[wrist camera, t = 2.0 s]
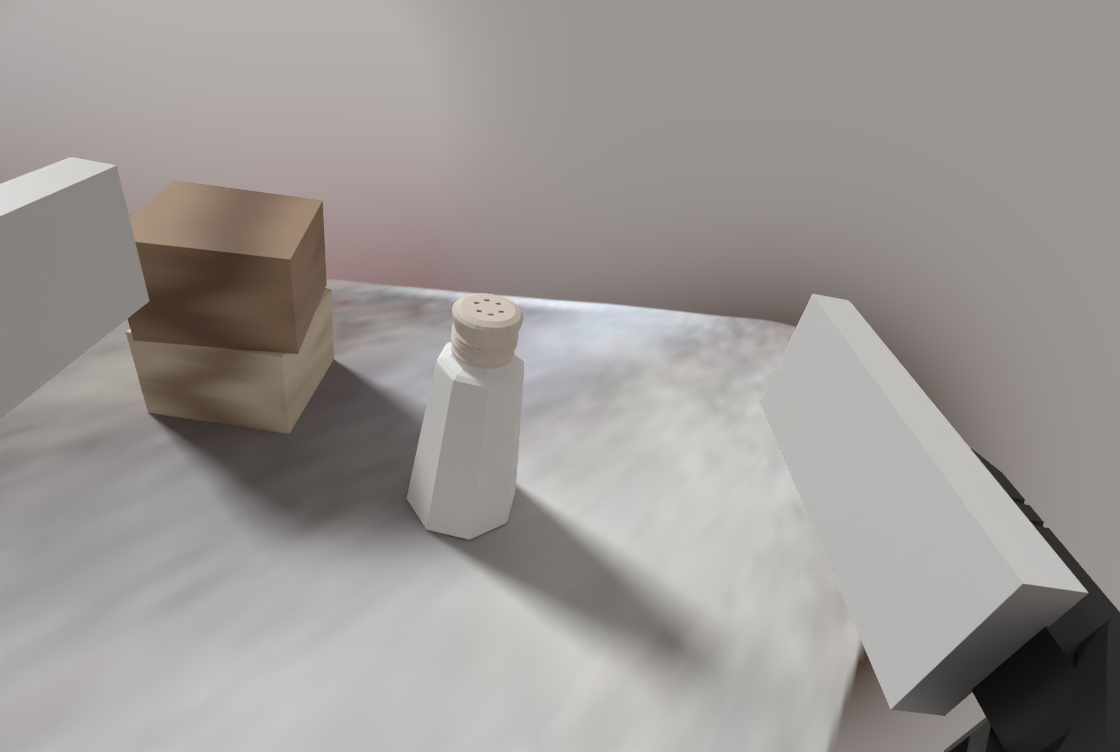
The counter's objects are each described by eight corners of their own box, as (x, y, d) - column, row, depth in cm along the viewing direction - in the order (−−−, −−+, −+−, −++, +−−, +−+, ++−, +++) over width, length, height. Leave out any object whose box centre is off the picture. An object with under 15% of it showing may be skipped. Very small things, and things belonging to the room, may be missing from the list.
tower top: (133, 340, 27) (105, 238, 24) (191, 270, 32) (174, 180, 29) (297, 354, 28) (290, 259, 25) (326, 284, 34) (322, 200, 31)
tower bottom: (148, 414, 30) (125, 332, 27) (216, 341, 36) (203, 266, 33) (289, 435, 31) (281, 357, 28) (333, 360, 36) (331, 289, 33)
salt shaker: (403, 461, 30) (413, 270, 24) (505, 456, 32) (539, 278, 26) (409, 547, 26) (423, 345, 20) (526, 536, 28) (572, 347, 22)
